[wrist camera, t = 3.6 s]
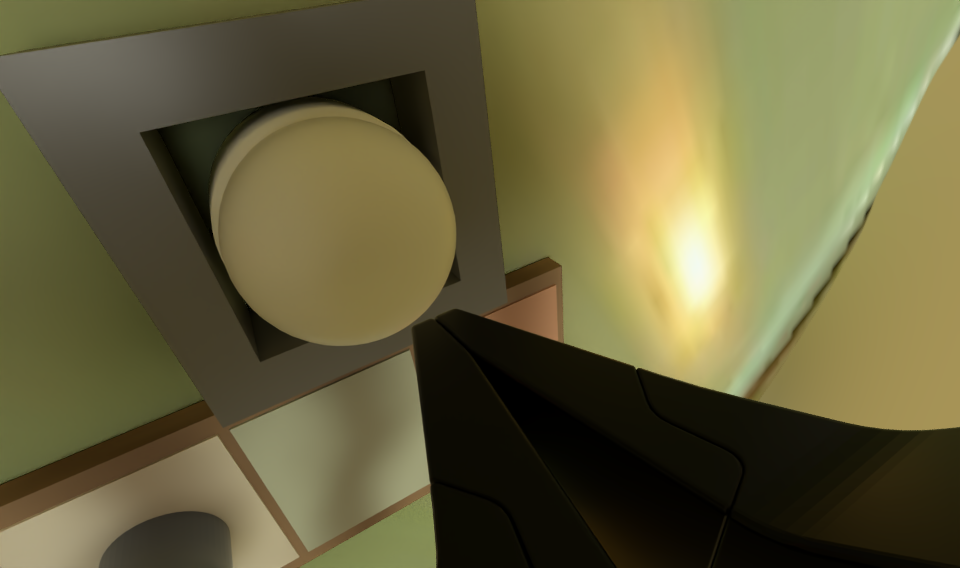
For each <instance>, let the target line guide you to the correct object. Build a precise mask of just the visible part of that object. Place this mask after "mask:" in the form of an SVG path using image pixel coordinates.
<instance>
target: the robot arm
mask: <svg viewBox="0 0 960 568" xmlns="http://www.w3.org/2000/svg"><path fill="white" fill-rule="evenodd" d="M411 333H412V342H413V350H414V358H415V366H416V374H417V383H418V391H419V399H420V407H421V415H422V424H423V432H424V440H425V448H426V457H427V465H428V473H429V481H430V485H431V486H430V492H431V500H432V509H433V519H434V531H435V543H436V568H960V427H957V428H947V429H936V430H922V431H921V430H917V431H916V430H912V431H911V430H910V431H909V430H908V431H907V430H904V431H902V430H889V429H879V428H872V427H865V426H860V425H855V424H850V423H845V422H841V421H837V420H832V419H829V418H824V417H820V416H816V415H812V414H808V413H804V412H800V411H795V410H791V409H787V408H783V407H779V406H775V405H771V404H766V403H762V402H758V401H754V400H750V399H746V398H742V397H738V396H734V395H730V394H727V393H723V392H719V391H715V390H711V389H707V388H704V387H700V386H697V385H693V384H690V383H687V382H683V381H680V380H677V379H673V378H670V377H667V376H663V375H660V374H657V373H654V372H651V371H648V370H645V369H642V368H638V369H637V370H636V368H635V367H634V366H632V365H629V364H626V363H623V362H620V361H617V360H614V359H611V358H608V357H605V356H602V355H598V354H595V353H592V352H589V351H586V350H583V349H580V348H577V347H574V346H571V345H568V344H565V343H562V342H559V341H556V340H552V339H549V338H546V337H543V336H540V335H537V334H534V333H531V332H528V331H525V330H522V329H519V328H516V327H513V326H510V325H506V324H503V323H500V322H497V321H494V320H491V319H488V318H485V317H482V316H479V315H476V314H473V313H470V312H467V311H464V310H460V309H456V308H454V309H451V310H448V311H446V312H444V313H441V314H439V315H437V316H436V317H435V319H432V318H430V319H427V320H425V321H422V322H420V323H418V324H415V325H413V326H412V328H411Z"/></svg>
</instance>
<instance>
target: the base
mask: <svg viewBox="0 0 960 568" xmlns="http://www.w3.org/2000/svg"><path fill="white" fill-rule="evenodd" d="M387 78H390V81H391V85H392V90H393V95H394V100H395V104H396V109H397V114H398V118H399V123H400V128H401V132H402V135H403V136H404V137H405V138H406V139H407V140H408V141H409V142H410V143H411V144H412V145H413V146H415V147H416V148H417V149H418V150H419V151H420V152H421V153H422V154H423V155H424V156H425V157H426V158H427V159H428V160H429V162H430V163H431V164H432V166H433V167H434V168H435V170H436V171H437V172H438V174H439V175H440V177H441V179H442V181H443V183H444V185H445V186H446V189H447V191H448V194H449V197H450V199H451V202H452V206H453V210H454V214H455V221H456V249H455V255H454V260H453V263H452V267H451V270H450V273H449V275H448V278H447V280H446V282H445V284H444V286H443V288H442V290H441V292H440V293H439V295H438V296H437V298H436V299H435V301H434V302H433V303H432V304H431V305H430V307H429V308H428V309H427V310H426V311H425V312H424V313H423V314H422V315H421V316H420V317H419V318H418V319H416V320H415V321H414V322H412V323H411V324H410V325H408V326H407V327H405V328H404V329H402V330H400V331H399V332H397V333H395V334H393V335H391V336H389V337H386V338H383V339H380V340H378V341H374V342H370V343H366V344H359V345H351V346H330V345H322V344H317V343H312V342H308V341H305V340H302V339H299V338H296V337H293V336H291V335H289V334H287V333H285V332H283V331H281V330H279V329H277V328H276V327H274V326H273V325H271V324H270V323H268V322H267V321H266V320H264V319H263V318H262V317H260V316H259V315H258V314H257V313H256V312H255V311H254V310H253V311H251V312H249V311H248V309H247V307H246V305H245V303H244V301H243V299H242V297H241V295H240V294H239V292H238V291H237V289H236V288H235V286H234V284H233V283H232V281H231V279H230V277H229V274H228V272H227V269H226V267H225V264H224V263H223V261H222V259H221V257H220V254H219V252H218V249H217V247H216V245H215V243H214V241H213V239H212V237H211V235H210V233H209V231H208V229H207V227H206V225H205V223H204V221H203V219H202V217H201V215H200V213H199V211H198V209H197V207H196V205H195V203H194V201H193V199H192V197H191V195H190V193H189V191H188V189H187V187H186V185H185V183H184V181H183V180H182V178H181V176H180V174H179V172H178V170H177V168H176V166H175V164H174V162H173V160H172V158H171V156H170V154H169V152H168V150H167V148H166V146H165V144H164V142H163V140H162V138H161V136H160V134H159V132H158V130H157V129H158V128H163V127H167V126H172V125H176V124H181V123H185V122H190V121H195V120H199V119H204V118H208V117H213V116H218V115H222V114H227V113H231V112H236V111H240V110H245V109H250V108H254V107H259V106H263V105H268V104H273V103H277V102H282V101H286V100H291V99H295V98H300V97H305V96H309V95H314V94H318V93H323V92H328V91H332V90H337V89H341V88H346V87H350V86H355V85H360V84H364V83H369V82H373V81H378V80H382V79H387ZM0 90H1V92H2V93H3V95H4V96H5V98H6V99H7V101H8V102H9V104H10V105H11V107H12V108H13V110H14V112H15V113H16V115H17V116H18V118H19V119H20V121H21V122H22V124H23V125H24V127H25V128H26V130H27V131H28V133H29V134H30V136H31V137H32V139H33V140H34V142H35V143H36V145H37V146H38V148H39V149H40V151H41V153H42V154H43V156H44V157H45V159H46V160H47V162H48V163H49V165H50V166H51V168H52V169H53V171H54V172H55V174H56V175H57V177H58V178H59V180H60V181H61V183H62V184H63V186H64V187H65V189H66V190H67V192H68V194H69V195H70V197H71V198H72V200H73V201H74V203H75V204H76V206H77V207H78V209H79V210H80V212H81V213H82V215H83V216H84V218H85V219H86V221H87V222H88V224H89V225H90V227H91V228H92V230H93V231H94V233H95V235H96V236H97V238H98V239H99V241H100V242H101V244H102V245H103V247H104V248H105V250H106V251H107V253H108V254H109V256H110V257H111V259H112V260H113V262H114V263H115V265H116V266H117V268H118V269H119V271H120V272H121V274H122V275H123V277H124V279H125V280H126V282H127V283H128V285H129V286H130V288H131V289H132V291H133V292H134V294H135V295H136V297H137V298H138V300H139V301H140V303H141V304H142V306H143V307H144V309H145V310H146V312H147V313H148V315H149V316H150V318H151V320H152V321H153V323H154V324H155V326H156V327H157V329H158V330H159V332H160V333H161V335H162V336H163V338H164V339H165V341H166V342H167V344H168V345H169V347H170V348H171V350H172V351H173V353H174V354H175V356H176V357H177V359H178V361H179V362H180V364H181V365H182V367H183V368H184V370H185V371H186V373H187V374H188V376H189V377H190V379H191V380H192V382H193V383H194V385H195V386H196V388H197V389H198V391H199V392H200V394H201V395H202V397H203V398H204V400H205V402H206V403H207V405H208V406H209V408H210V409H211V411H212V412H213V414H214V415H215V417H216V418H217V420H218V421H219V423H220V424H221V426H222V427H223V428H224V427H226V426H229V425H231V424H233V423H236V422H238V421H240V420H242V419H245V418H247V417H249V416H251V415H254V414H256V413H258V412H260V411H263V410H265V409H267V408H269V407H272V406H274V405H276V404H279V403H281V402H283V401H285V400H288V399H290V398H292V397H294V396H297V395H299V394H301V393H303V392H306V391H308V390H310V389H313V388H315V387H317V386H319V385H322V384H324V383H326V382H328V381H331V380H333V379H335V378H337V377H340V376H342V375H344V374H347V373H349V372H351V371H353V370H356V369H358V368H360V367H362V366H365V365H367V364H369V363H371V362H374V361H376V360H378V359H381V358H383V357H385V356H387V355H390V354H392V353H394V352H396V351H399V350H401V349H403V348H405V347H408V346H410V345H412V344H413V342H412V333H411V328H412V326H413V325H415V324H418V323H420V322H422V321H425V320H427V319H430V318H432V319H435V317H436V316H437V315H439V314H441V313H444V312H446V311H448V310H451V309H454V308H456V309H460V310H464V311H467V312H470V313H473V314H476V315H480V314H482V313H485V312H487V311H489V310H492V309H494V308H496V307H498V306H501V305H503V304H505V303H507V302H508V300H507V290H506V281H505V272H504V263H503V253H502V244H501V235H500V225H499V216H498V207H497V198H496V188H495V179H494V170H493V161H492V151H491V142H490V133H489V124H488V114H487V105H486V96H485V87H484V77H483V68H482V59H481V49H480V40H479V31H478V22H477V12H476V3H475V0H354V1H347V2H340V3H334V4H327V5H321V6H314V7H307V8H301V9H294V10H288V11H281V12H274V13H268V14H261V15H254V16H248V17H241V18H235V19H228V20H221V21H215V22H208V23H202V24H195V25H188V26H182V27H175V28H169V29H162V30H155V31H149V32H142V33H136V34H129V35H122V36H116V37H109V38H103V39H96V40H89V41H83V42H76V43H69V44H63V45H56V46H50V47H43V48H36V49H30V50H24V51H19V52H14V53H9V54H4V55H0Z"/></svg>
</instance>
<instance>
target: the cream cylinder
mask: <svg viewBox="0 0 960 568" xmlns="http://www.w3.org/2000/svg"><path fill="white" fill-rule="evenodd" d="M208 197H209V208H210V216H211V223H212V231H213V235H214V240H215V244H216V247H217V249H218V252H219V254H220V257H221V259H222V261H223V263H224V264H225V267H226V269H227V272H228V274H229V277H230V279H231V281H232V283H233V284H234V286H235V288H236V289H237V291H238V292H239V294H240V295H241V296H242V298H243V299H244V300H245V301H246V302H247V304H248V305H249V306H250V307H251V308H252V309H253V310H254V311H255V312H256V313H257V314H258V315H259V316H260V317H262V318H263V319H264V320H266V321H267V322H268V323H270V324H271V325H273V326H274V327H276V328H277V329H279V330H281V331H283V332H285V333H287V334H289V335H291V336H293V337H296V338H299V339H302V340H305V341H308V342H312V343H317V344H322V345H330V346H351V345H359V344H366V343H370V342H374V341H378V340H380V339H383V338H386V337H389V336H391V335H393V334H395V333H397V332H399V331H400V330H402V329H404V328H405V327H407V326H408V325H410V324H411V323H412V322H414V321H415V320H416V319H418V318H419V317H420V316H421V315H422V314H423V313H424V312H425V311H426V310H427V309H428V308H429V307H430V305H431V304H432V303H433V302H434V301H435V299H436V298H437V296H438V295H439V293H440V292H441V290H442V288H443V286H444V284H445V282H446V280H447V278H448V275H449V273H450V270H451V267H452V263H453V260H454V255H455V249H456V221H455V214H454V210H453V206H452V202H451V199H450V197H449V194H448V191H447V189H446V186H445V185H444V183H443V181H442V179H441V177H440V175H439V174H438V172H437V171H436V170H435V168H434V167H433V166H432V164H431V163H430V162H429V160H428V159H427V158H426V157H425V156H424V155H423V154H422V153H421V152H420V151H419V150H418V149H417V148H416V147H415V146H413V145H412V144H411V143H410V142H409V141H408V140H407V139H406V138H405V137H404V136H403V135H402V134H400V133H399V132H398V131H396V130H395V129H394V128H393V127H391V126H390V125H388V124H386V123H384V122H383V121H381V120H379V119H377V118H375V117H373V116H372V115H370V114H368V113H366V112H364V111H362V110H360V109H358V108H356V107H354V106H351V105H349V104H346V103H344V102H340V101H336V100H332V99H327V98H319V97H300V98H295V99H291V100H286V101H282V102H277V103H273V104H270V105H268V106H266V107H264V108H261V109H259V110H257V111H256V112H254V113H253V114H251V115H250V116H248V117H247V118H245V119H244V120H243V121H242V122H241V123H240V124H238V125H237V126H236V127H235V128H234V129H233V130H232V132H231V133H230V134H229V135H228V136H227V138H226V139H225V140H224V142H223V144H222V145H221V147H220V149H219V150H218V152H217V155H216V157H215V160H214V162H213V164H212V169H211V173H210V177H209V188H208Z"/></svg>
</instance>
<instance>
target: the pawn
mask: <svg viewBox="0 0 960 568" xmlns="http://www.w3.org/2000/svg"><path fill="white" fill-rule="evenodd" d="M99 568H233V561H232V549H231V537H230V531H229V528H228V526H227V524H226V523H225V522H224V521H223V520H222V519H220V518H219V517H217V516H215V515H212V514H209V513H205V512H197V511H183V512H175V513H170V514H165V515H162V516H158V517H155V518H152V519H149V520H147V521H145V522H142V523H140V524H138V525H136V526H134V527H132V528H131V529H129V530H128V531H126V532H125V533H123V534H122V535H121V536H119V537H118V538H117V539H116V540H115V541H114V542H113V543H111V545H110V546H109V547H108V548H107V549H106V551H105V552H104V554H103V556H102V558H101V560H100V563H99Z"/></svg>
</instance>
